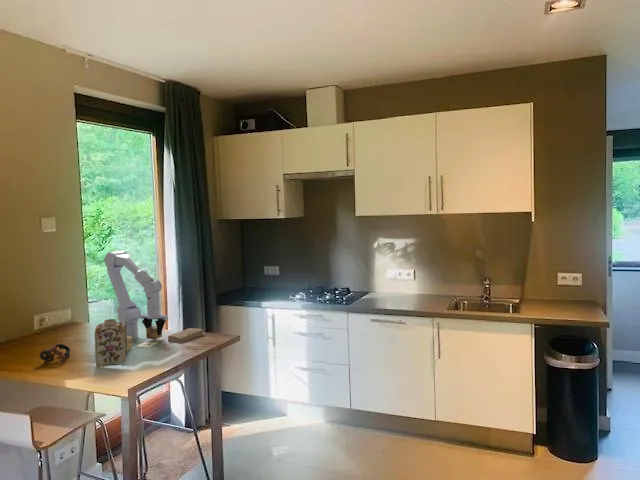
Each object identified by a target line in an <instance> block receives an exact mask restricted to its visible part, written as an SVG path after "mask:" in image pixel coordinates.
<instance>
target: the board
mask: <svg viewBox="0 0 640 480" xmlns="http://www.w3.org/2000/svg"><path fill="white" fill-rule="evenodd" d="M157 344H158V342H157V343H152V342H144V341H143V342H142V343H139V344H137V345H136V346H133V347H132V348H130V349H128V350H127V352H128V351H129V350H132V349H135V348H136V347H141V348H150V347H153V346H155V345H157Z"/></svg>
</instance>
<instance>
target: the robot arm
mask: <svg viewBox="0 0 640 480" xmlns="http://www.w3.org/2000/svg"><path fill="white" fill-rule="evenodd" d="M103 262H104V264H105V267H106V272H107V275H108V277H109V280H110V283H111V286H112V288H113V290H114V291H113V292H114V293H115V296H116V299H117V301H118V304H119V306H118V308H117V309H116V313H117V321H118V322H122V323H125V324H126V327H127V328H126V329H127V336H132V340H136V339H137V338H139V326H138V321H139V320H140V319H141V320H142V321H141V323H142V324H143V326H144V328H145V329H146V328H148V327H150V326H153V325H152V324H153V320H155V321H154V322H155V326H157V333H158V335H161V334H162V335H163V329H164V325H165V323H166V322H167V320H169V315H168V314H166V315H165V314H161V305H160V304H161V303H160V302H161V301H160V291H162V283H161V281H160V280H159V279H155V278H154V277H152V276H151V275H150V274H149V273H148V272H147V270H145V269H140V268H139V267H138V265H136V263H135V262H134V261H133V260H132V259H131V256H130V254H129V253H128V252H127V251H125V250H120V251H109V252H107V253H106V254H105V256H104V258H103ZM124 267H125V268H126V269H127V270H128V271H130V272H131V273H132V274H133V275H134V279H135V280H136V282H138V283H139V284H140V285H141V286H142V287H143V292H144V293H145V297H146V308H147V309H146V313H141V310H140V308H139V307H138V306H137V304H136V303H135V302H134V301H132V300H131V297H130V295H129V292H128V289H127V287H126V284H125V281H124V279H123V275H122V273H121V270H122V269H123V268H124Z"/></svg>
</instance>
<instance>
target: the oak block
mask: <svg viewBox="0 0 640 480" xmlns="http://www.w3.org/2000/svg"><path fill="white" fill-rule="evenodd" d="M132 347H134V346H133V339H132V336H127V350H128V349H130V348H132ZM130 350H131V349H130ZM128 351H129V350H128Z"/></svg>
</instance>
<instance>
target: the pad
mask: <svg viewBox="0 0 640 480" xmlns="http://www.w3.org/2000/svg"><path fill="white" fill-rule="evenodd" d="M162 341H165V338H164V337H163V338H161V337H160V338H158V339H146V340H145V341H143V343H144V342H149V343H157V344H158V343H159V342H162Z"/></svg>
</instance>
